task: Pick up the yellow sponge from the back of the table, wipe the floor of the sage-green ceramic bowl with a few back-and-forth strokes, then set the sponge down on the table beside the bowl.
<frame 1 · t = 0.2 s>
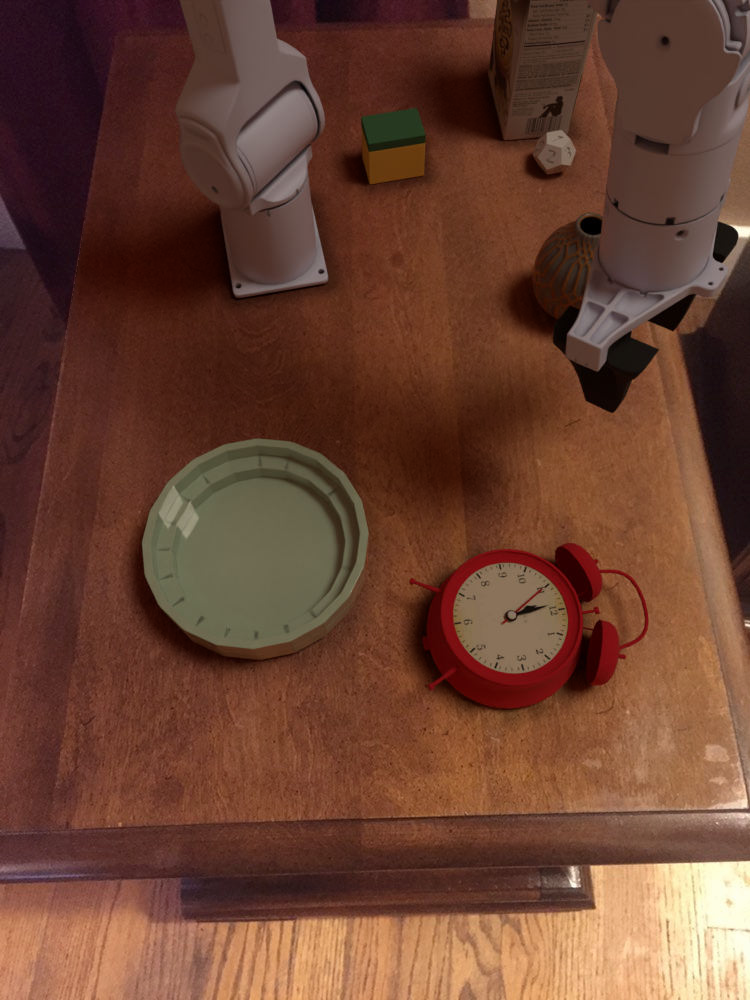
hand: (632, 361, 52), 11 cm above the table, tool pointing down, fingers open, 7 cm apart
game die: (550, 167, 74), on the table
vase: (568, 303, 68), on the table
alarm clock: (526, 629, 56), on the table
sponge: (392, 166, 74), on the table
coffee box: (526, 107, 77), on the table
bowl: (262, 555, 58), on the table
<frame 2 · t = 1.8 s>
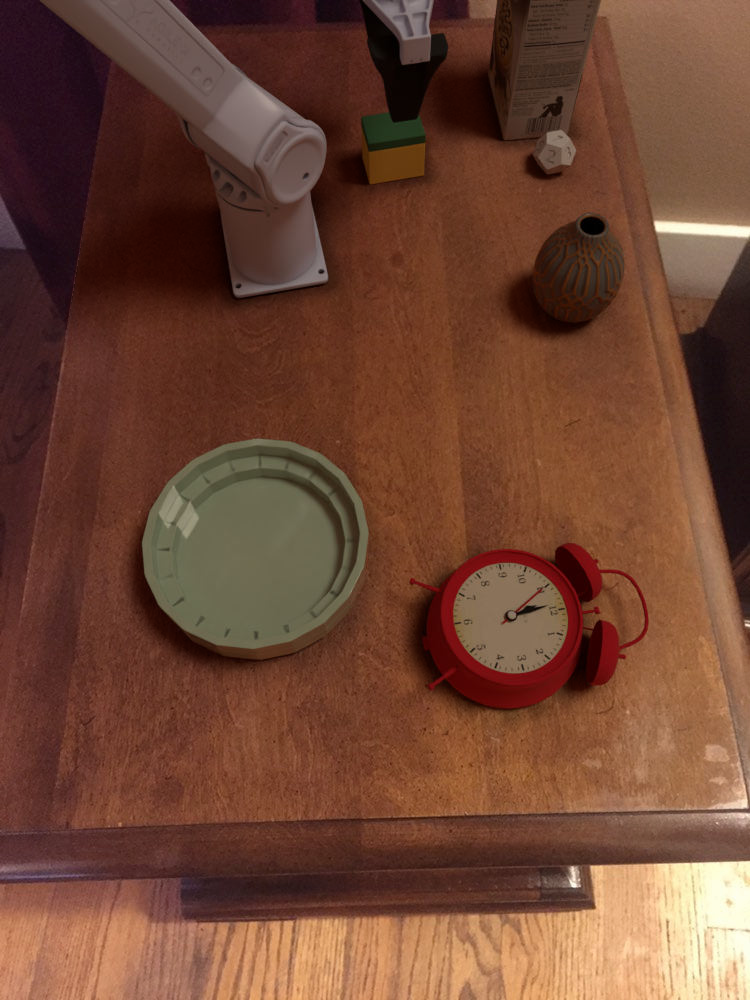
hand: (394, 85, 67), 8 cm above the table, tool pointing down, fingers open, 7 cm apart
nothing on the table moved.
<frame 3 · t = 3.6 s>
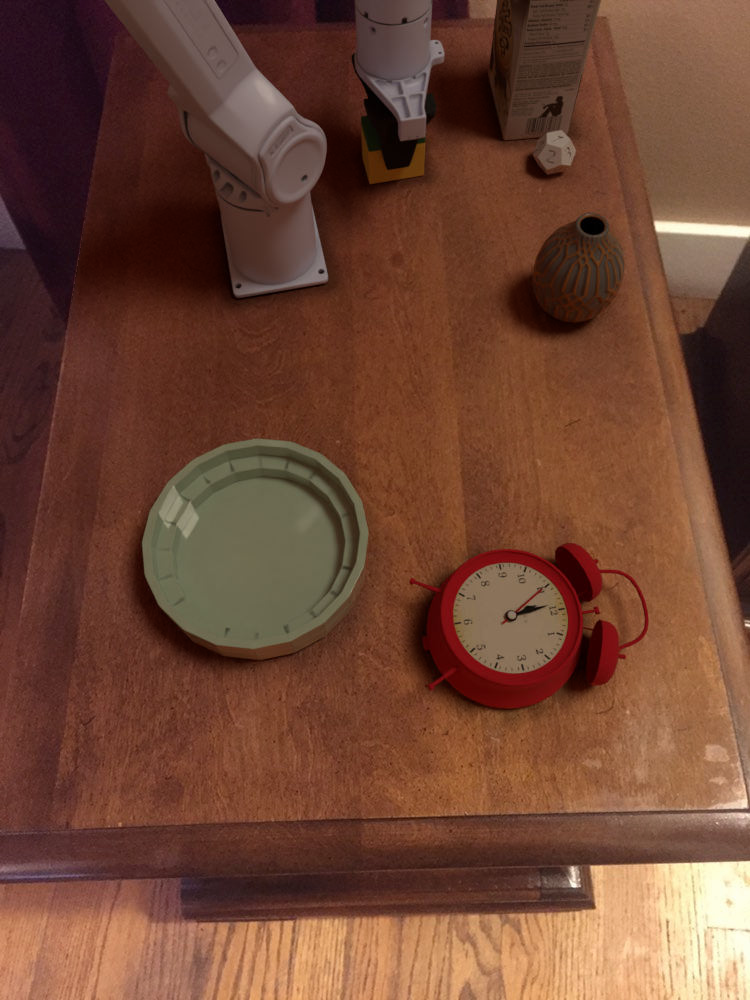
hand: (393, 149, 72), 2 cm above the table, tool pointing down, fingers closed on sponge, 3 cm apart
sponge: (392, 166, 74), on the table, touching gripper
everything else where it was.
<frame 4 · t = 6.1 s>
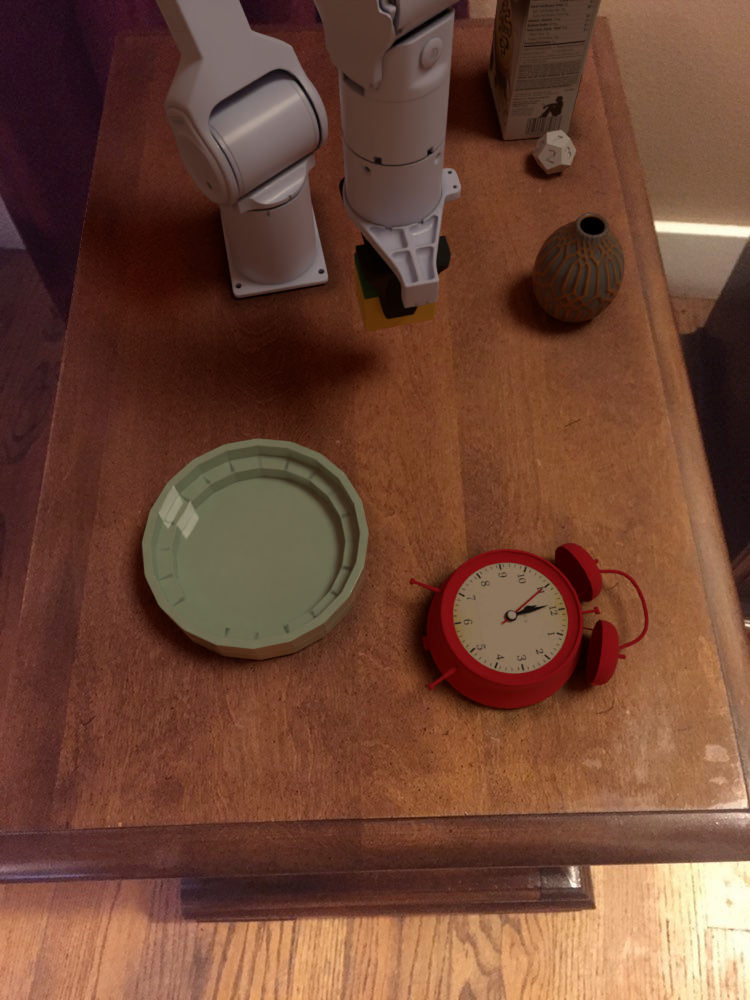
hand: (393, 290, 57), 9 cm above the table, tool pointing down, fingers closed on sponge, 3 cm apart
sponge: (395, 307, 59), point 7 cm above the table, touching gripper
everything else where it was.
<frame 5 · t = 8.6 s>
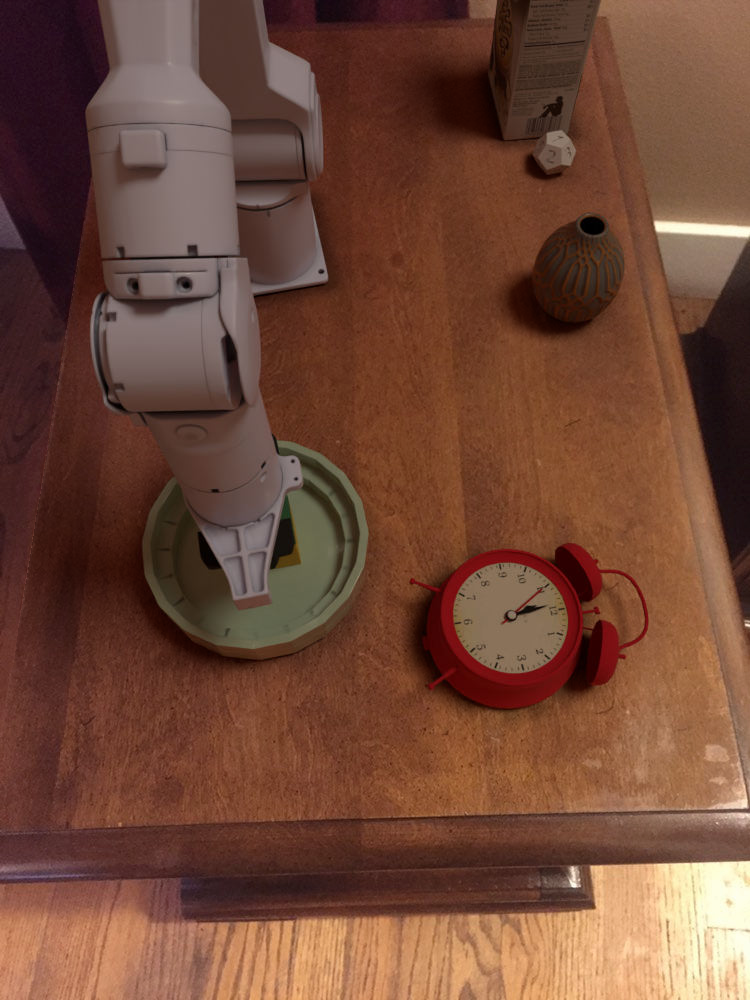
hand: (256, 540, 56), 2 cm above the table, tool pointing down, fingers closed on sponge, 3 cm apart
sponge: (263, 548, 58), point 1 cm above the table, touching bowl, gripper
bowl: (262, 555, 58), on the table, touching sponge
everything else where it was.
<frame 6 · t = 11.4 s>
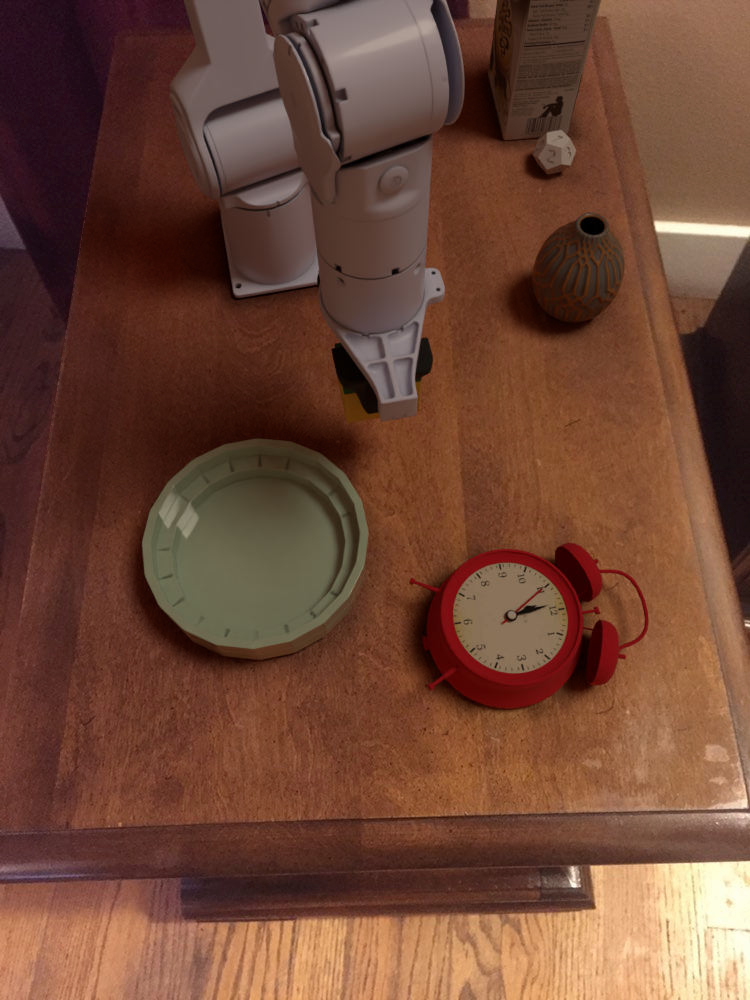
hand: (375, 382, 54), 9 cm above the table, tool pointing down, fingers closed on sponge, 3 cm apart
sponge: (378, 396, 56), point 7 cm above the table, touching gripper
bowl: (262, 555, 58), on the table
everything else where it was.
when the fingers open (2 cm above the table, at t = 13.8 s): sponge stays where it is, on the table.
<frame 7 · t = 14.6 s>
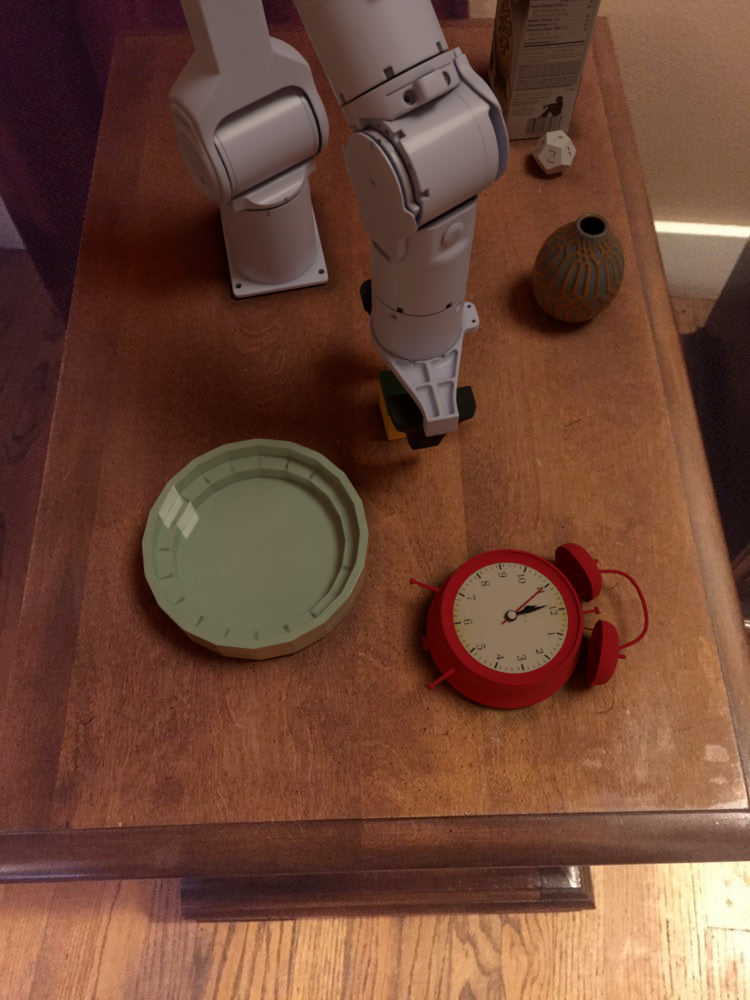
hand: (413, 399, 61), 2 cm above the table, tool pointing down, fingers open, 7 cm apart
sponge: (415, 416, 63), on the table
everything else where it was.
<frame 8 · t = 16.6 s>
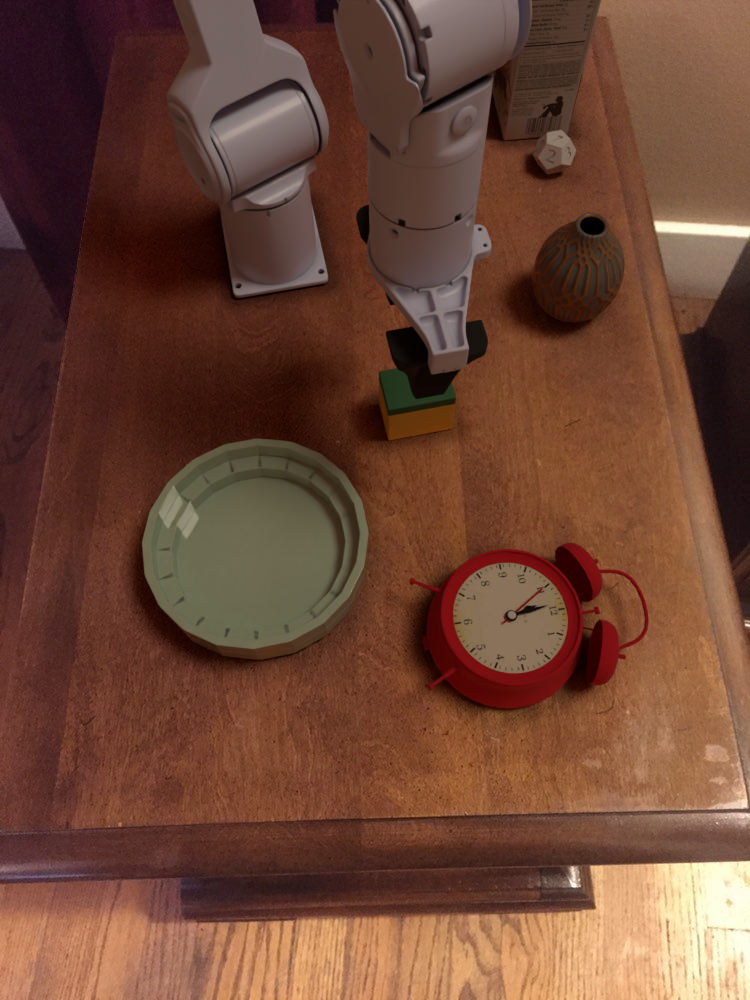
hand: (415, 344, 55), 9 cm above the table, tool pointing down, fingers open, 7 cm apart
nothing on the table moved.
at the end: sponge 0.2 cm from the target spot, on the table; the gripper is holding nothing; bowl moved 0.0 cm from its start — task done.
